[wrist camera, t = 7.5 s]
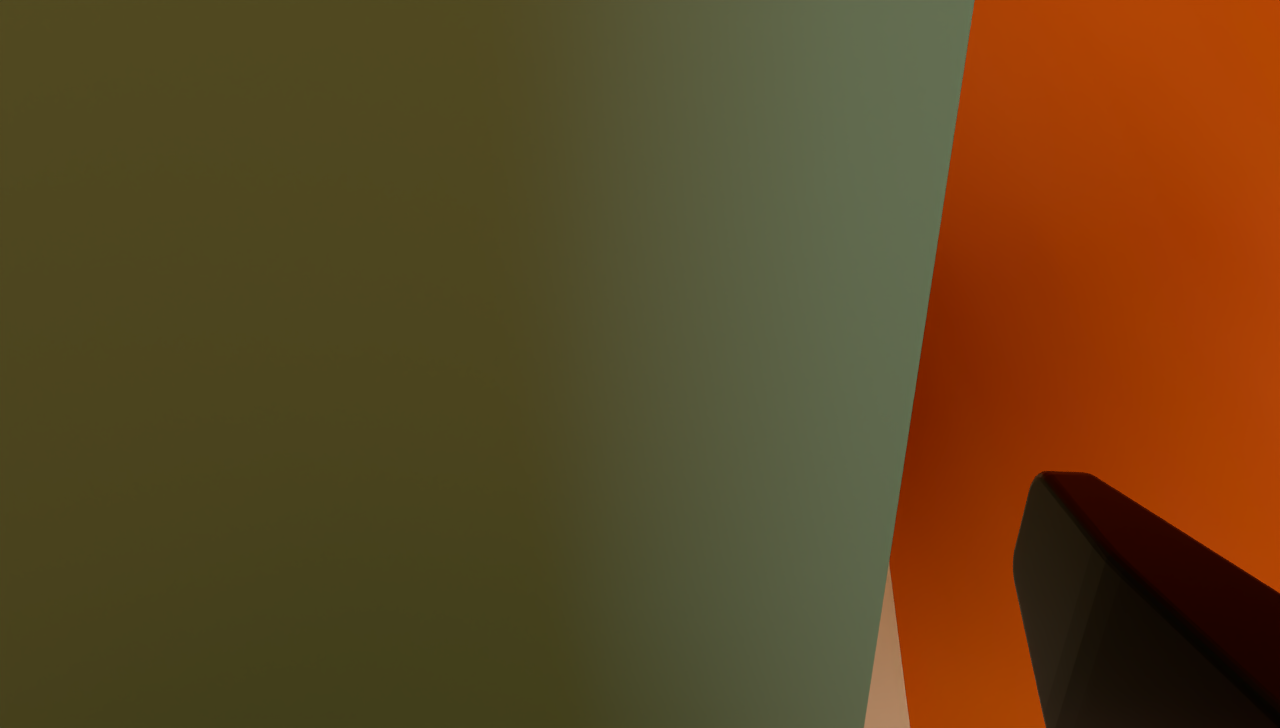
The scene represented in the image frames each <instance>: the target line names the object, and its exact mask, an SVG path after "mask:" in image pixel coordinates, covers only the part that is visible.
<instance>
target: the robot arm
mask: <svg viewBox="0 0 1280 728" xmlns="http://www.w3.org/2000/svg"><path fill="white" fill-rule="evenodd" d="M1013 575H1014V582H1015V587H1016V592H1017V596H1018V601H1019V605H1020V610H1021V615H1022V619H1023V624H1024V629H1025V633H1026V638H1027V643H1028V647H1029V652H1030V657H1031V661H1032V666H1033V671H1034V675H1035V680H1036V685H1037V689H1038V694H1039V699H1040V703H1041V708H1042V712H1043V717H1044V721H1045V725H1046V728H1280V593H1278V592H1277V591H1275V590H1274V589H1272V588H1270V587H1269V586H1267V585H1266V584H1264V583H1263V582H1261V581H1259V580H1258V579H1256V578H1255V577H1253V576H1251V575H1250V574H1248V573H1247V572H1245V571H1244V570H1242V569H1240V568H1239V567H1237V566H1236V565H1234V564H1233V563H1231V562H1229V561H1228V560H1226V559H1225V558H1223V557H1221V556H1220V555H1218V554H1217V553H1215V552H1214V551H1212V550H1210V549H1209V548H1207V547H1206V546H1204V545H1203V544H1201V543H1199V542H1198V541H1196V540H1195V539H1193V538H1191V537H1190V536H1188V535H1187V534H1185V533H1184V532H1182V531H1180V530H1179V529H1177V528H1176V527H1174V526H1172V525H1171V524H1169V523H1168V522H1166V521H1165V520H1163V519H1161V518H1160V517H1158V516H1157V515H1155V514H1154V513H1152V512H1150V511H1149V510H1147V509H1146V508H1144V507H1142V506H1141V505H1139V504H1138V503H1136V502H1135V501H1133V500H1131V499H1130V498H1128V497H1127V496H1125V495H1124V494H1122V493H1120V492H1119V491H1117V490H1116V489H1114V488H1112V487H1111V486H1109V485H1108V484H1106V483H1105V482H1103V481H1101V480H1100V479H1098V478H1097V477H1095V476H1093V475H1091V474H1088V473H1083V472H1058V471H1044V472H1041V473H1039V474H1038V475H1037V476H1036V477H1035V478H1034V480H1033V482H1032V484H1031V486H1030V489H1029V493H1028V497H1027V501H1026V505H1025V509H1024V513H1023V517H1022V521H1021V526H1020V530H1019V534H1018V538H1017V542H1016V546H1015V550H1014V557H1013Z"/></svg>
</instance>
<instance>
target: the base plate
mask: <svg viewBox="0 0 1280 728" xmlns="http://www.w3.org/2000/svg"><path fill="white" fill-rule="evenodd" d="M864 728H910V723H909V716H908V708H907V700H906V692H905V684H904V676H903V668H902V660H901V653H900V645H899V637H898V629H897V621H896V613H895V605H894V597H893V590H892V582H891V574H890V566H888V572H887V579H886V585H885V592H884V599H883V605H882V612H881V618H880V625H879V632H878V638H877V645H876V651H875V658H874V664H873V671H872V678H871V684H870V691H869V697H868V704H867V710H866V717H865V724H864Z"/></svg>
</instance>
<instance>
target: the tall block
mask: <svg viewBox="0 0 1280 728" xmlns="http://www.w3.org/2000/svg"><path fill="white" fill-rule="evenodd" d="M973 6H974V0H0V728H864V724H865V717H866V710H867V704H868V697H869V691H870V684H871V678H872V671H873V664H874V658H875V651H876V645H877V638H878V632H879V625H880V618H881V612H882V605H883V599H884V592H885V585H886V579H887V572H888V566H889V559H890V553H891V546H892V539H893V533H894V526H895V520H896V513H897V506H898V500H899V493H900V487H901V480H902V474H903V467H904V460H905V454H906V447H907V441H908V434H909V428H910V421H911V414H912V408H913V401H914V395H915V388H916V381H917V375H918V368H919V362H920V355H921V349H922V342H923V335H924V329H925V322H926V316H927V309H928V302H929V296H930V289H931V283H932V276H933V270H934V263H935V256H936V250H937V243H938V237H939V230H940V224H941V217H942V210H943V204H944V197H945V191H946V184H947V177H948V171H949V164H950V158H951V151H952V145H953V138H954V131H955V125H956V118H957V112H958V105H959V99H960V92H961V85H962V79H963V72H964V66H965V59H966V52H967V46H968V39H969V33H970V26H971V20H972V13H973Z"/></svg>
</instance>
